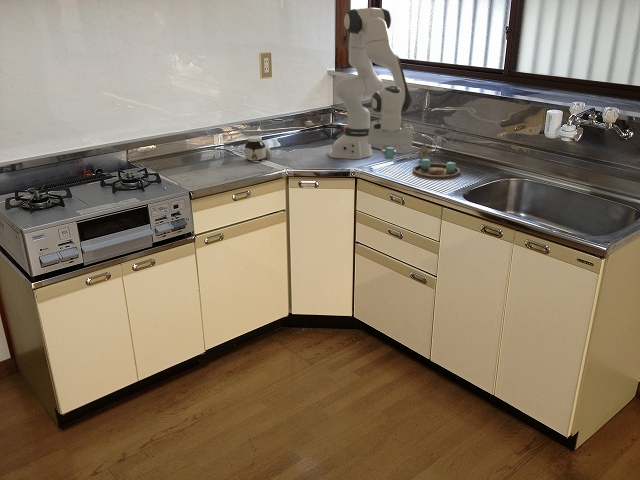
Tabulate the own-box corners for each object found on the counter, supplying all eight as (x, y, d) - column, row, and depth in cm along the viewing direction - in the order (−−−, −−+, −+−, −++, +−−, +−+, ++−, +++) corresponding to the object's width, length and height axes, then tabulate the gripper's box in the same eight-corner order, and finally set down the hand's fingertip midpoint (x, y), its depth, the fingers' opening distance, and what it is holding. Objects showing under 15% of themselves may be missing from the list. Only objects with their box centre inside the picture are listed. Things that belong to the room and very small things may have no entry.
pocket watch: (435, 165, 300) (437, 144, 296) (418, 164, 301) (419, 143, 297) (436, 160, 307) (437, 140, 303) (419, 159, 309) (420, 139, 305)
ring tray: (413, 180, 277) (413, 175, 276) (412, 167, 296) (412, 162, 295) (461, 181, 275) (461, 176, 274) (457, 168, 294) (457, 163, 293)
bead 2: (425, 171, 287) (426, 161, 286) (419, 169, 290) (419, 159, 288) (431, 169, 290) (432, 160, 288) (425, 167, 292) (425, 158, 291)
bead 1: (384, 159, 281) (385, 149, 279) (384, 156, 285) (385, 146, 283) (393, 159, 281) (394, 149, 279) (393, 156, 284) (394, 147, 282)
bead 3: (446, 173, 283) (447, 164, 281) (445, 171, 287) (446, 161, 285) (455, 174, 282) (456, 164, 281) (454, 171, 286) (455, 162, 284)
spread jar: (243, 161, 309) (241, 138, 304) (253, 156, 319) (252, 133, 314) (265, 163, 305) (264, 140, 300) (274, 158, 315) (273, 135, 310)
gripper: (414, 123, 278) (412, 153, 284) (368, 121, 280) (367, 151, 286) (414, 126, 272) (412, 157, 278) (367, 125, 274) (366, 155, 280)
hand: (389, 154), depth 282 cm, fingers closed on bead 1, 4 cm apart
